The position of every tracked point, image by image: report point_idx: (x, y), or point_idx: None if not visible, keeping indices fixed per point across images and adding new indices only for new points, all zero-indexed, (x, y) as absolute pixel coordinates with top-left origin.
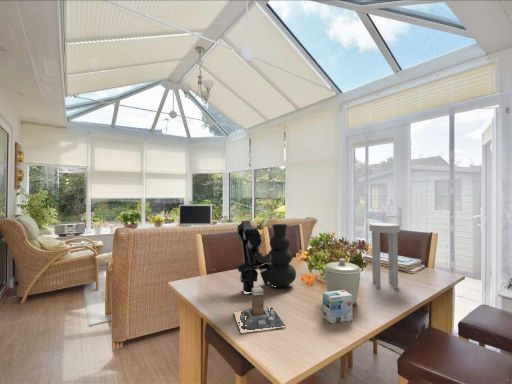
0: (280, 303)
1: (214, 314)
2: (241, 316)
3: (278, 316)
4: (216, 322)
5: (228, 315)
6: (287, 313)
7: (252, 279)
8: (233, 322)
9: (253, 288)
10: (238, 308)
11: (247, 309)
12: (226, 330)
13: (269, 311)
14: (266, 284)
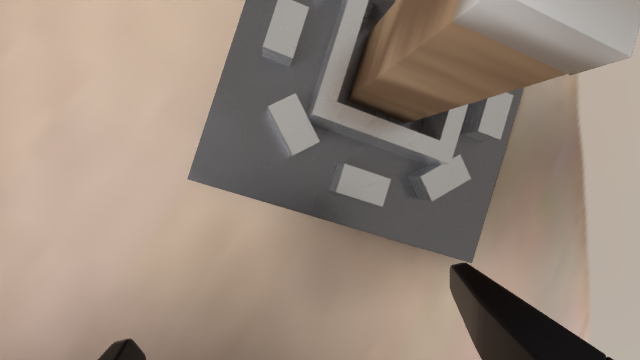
0: (42, 246)
1: (551, 305)
2: (503, 112)
3: (246, 8)
4: (579, 201)
5: (494, 250)
6: (123, 46)
7: (541, 339)
8: (509, 148)
9: (619, 22)
10: (397, 319)
11: (447, 154)
12: (573, 86)
13: (255, 121)
14: (128, 350)
